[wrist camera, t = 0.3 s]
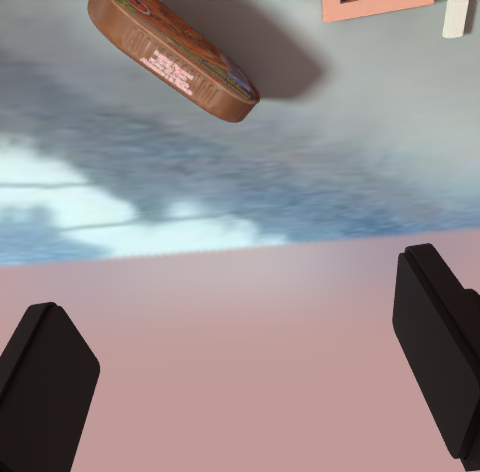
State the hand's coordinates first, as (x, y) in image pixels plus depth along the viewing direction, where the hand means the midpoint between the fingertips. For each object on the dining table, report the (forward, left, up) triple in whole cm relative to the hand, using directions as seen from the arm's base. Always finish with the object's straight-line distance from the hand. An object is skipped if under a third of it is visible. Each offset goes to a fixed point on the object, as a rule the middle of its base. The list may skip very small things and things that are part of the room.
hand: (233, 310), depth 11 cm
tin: (-2, -4, -31) cm, 31 cm away
